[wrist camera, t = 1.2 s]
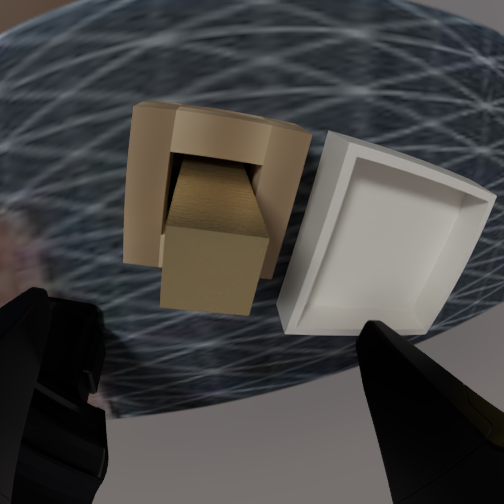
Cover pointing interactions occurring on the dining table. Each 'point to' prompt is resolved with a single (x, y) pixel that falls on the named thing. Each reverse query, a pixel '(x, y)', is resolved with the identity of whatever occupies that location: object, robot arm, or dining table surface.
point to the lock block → (211, 145)
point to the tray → (379, 241)
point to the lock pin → (212, 239)
